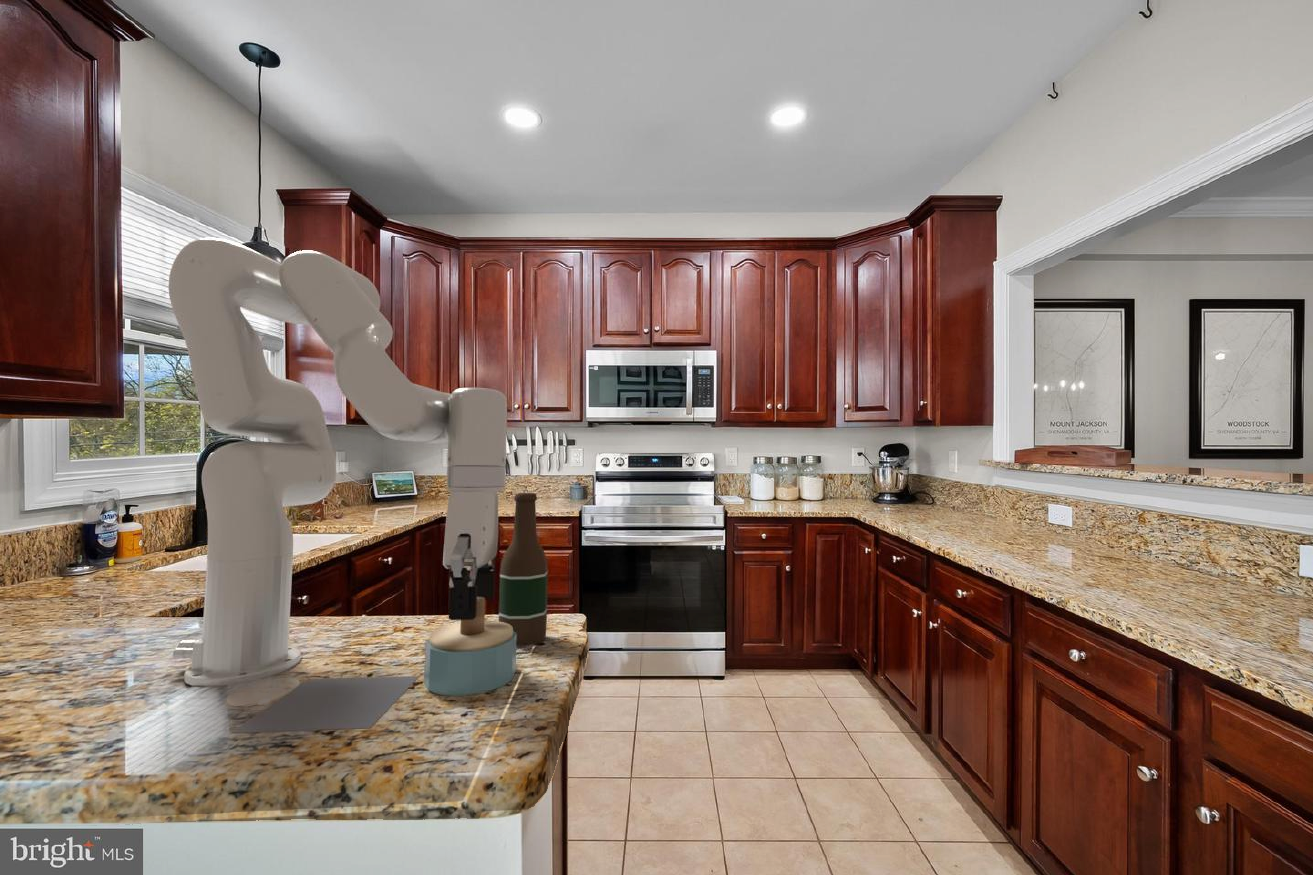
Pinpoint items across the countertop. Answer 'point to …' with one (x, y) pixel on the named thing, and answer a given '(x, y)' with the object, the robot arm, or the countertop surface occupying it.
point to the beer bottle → (524, 577)
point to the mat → (330, 705)
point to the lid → (472, 633)
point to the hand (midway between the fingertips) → (473, 608)
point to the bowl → (469, 669)
